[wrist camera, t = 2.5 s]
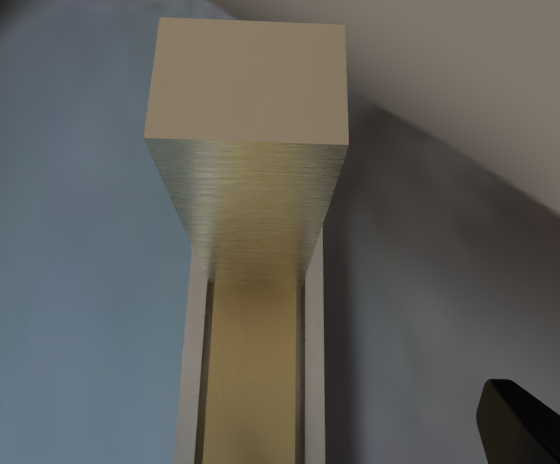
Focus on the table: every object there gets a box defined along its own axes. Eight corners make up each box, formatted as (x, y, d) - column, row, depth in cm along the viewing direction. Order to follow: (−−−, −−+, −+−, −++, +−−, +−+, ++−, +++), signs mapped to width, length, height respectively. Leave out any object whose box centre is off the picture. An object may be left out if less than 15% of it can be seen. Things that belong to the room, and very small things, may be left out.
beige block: (295, 575, 17) (377, 1004, 5) (197, 574, 17) (27, 1007, 5) (298, 243, 21) (345, 24, 9) (219, 241, 21) (159, 17, 9)
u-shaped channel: (317, 609, 18) (327, 648, 15) (174, 607, 17) (157, 646, 15) (315, 236, 23) (322, 212, 20) (203, 233, 22) (195, 207, 20)
